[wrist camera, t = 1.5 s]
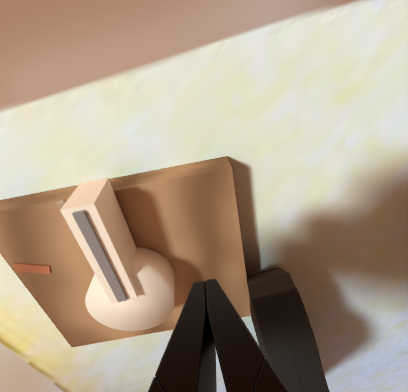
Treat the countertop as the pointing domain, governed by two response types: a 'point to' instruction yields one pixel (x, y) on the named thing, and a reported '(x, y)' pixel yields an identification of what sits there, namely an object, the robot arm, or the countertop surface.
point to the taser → (285, 331)
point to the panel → (142, 236)
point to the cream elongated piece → (118, 262)
